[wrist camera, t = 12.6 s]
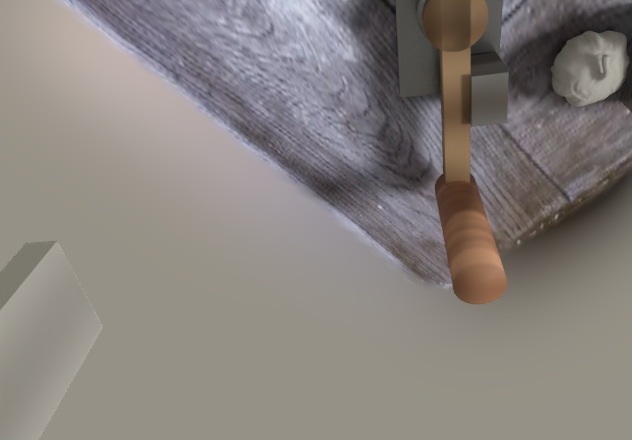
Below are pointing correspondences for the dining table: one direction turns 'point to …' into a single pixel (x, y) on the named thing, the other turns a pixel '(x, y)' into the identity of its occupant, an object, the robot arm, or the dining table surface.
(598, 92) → the garlic
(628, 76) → the block
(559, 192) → the dining table surface
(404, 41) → the press base
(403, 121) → the dining table surface
